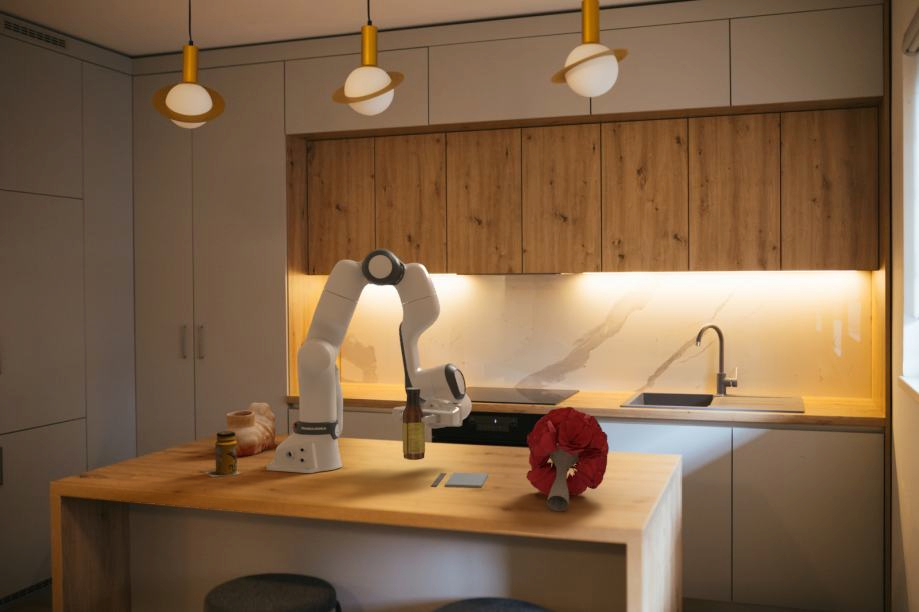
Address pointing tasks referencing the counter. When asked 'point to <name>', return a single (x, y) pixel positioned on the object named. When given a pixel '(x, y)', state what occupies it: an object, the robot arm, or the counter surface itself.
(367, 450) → the counter surface
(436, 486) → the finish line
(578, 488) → the bouquet
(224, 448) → the condiment
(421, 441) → the sauce bottle
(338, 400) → the glass bottle
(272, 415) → the ceramic vessel
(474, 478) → the mat
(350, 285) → the robot arm
